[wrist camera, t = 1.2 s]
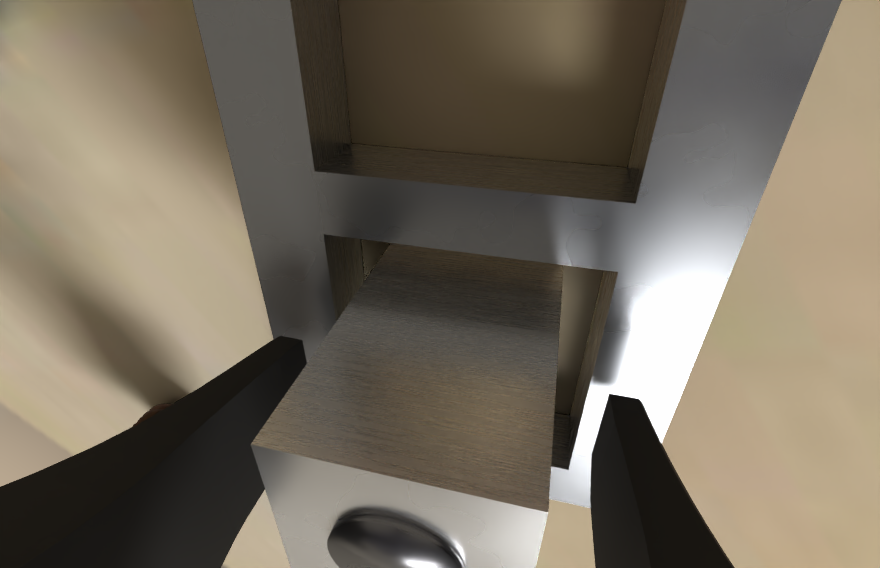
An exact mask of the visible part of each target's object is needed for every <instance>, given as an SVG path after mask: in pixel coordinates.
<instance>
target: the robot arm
mask: <svg viewBox="0 0 880 568" xmlns="http://www.w3.org/2000/svg"><path fill="white" fill-rule="evenodd" d="M306 364H307V361H306V356H305V351H304V346H303V340H301V339H295V338H289V337H284V336H279V337H277V338H276V339H274V340H272V341H271V342H269V343H267V344H266V345H264V346H263V347H261V348H260V349H258V350H257V351H255V352H254V353H252V354H251V355H249V356H248V357H246V358H245V359H243V360H242V361H240V362H239V363H237V364H236V365H234V366H233V367H231V368H230V369H228V370H226V371H225V372H223V373H222V374H220V375H219V376H217V377H216V378H214V379H213V380H211V381H209V382H208V383H206V384H205V385H203V386H202V387H200V388H199V389H197V390H195V391H194V392H192V393H190V394H189V395H187V396H185V397H184V398H182V399H180V400H179V401H177V402H175V403H174V404H172V405H170V406H169V407H167V408H165V409H164V410H162V411H160V412H159V413H157V414H155V415H153V416H152V417H150V418H148V419H146V420H144V421H143V422H141V423H139V424H137V425H135V426H133V427H132V428H130V429H128V430H126V431H124V432H122V433H120V434H118V435H116V436H114V437H112V438H110V439H108V440H106V441H104V442H102V443H100V444H98V445H96V446H94V447H92V448H90V449H88V450H85V451H83V452H81V453H79V454H76V455H74V456H72V457H70V458H67V459H65V460H63V461H61V462H58V463H56V464H54V465H52V466H50V467H47V468H45V469H43V470H41V471H38V472H36V473H34V474H31V475H29V476H26V477H24V478H21V479H19V480H16V481H14V482H11V483H9V484H6V485H4V486H1V487H0V568H221V566H222V564H223V562H224V560H225V558H226V556H227V554H228V552H229V550H230V548H231V546H232V544H233V542H234V540H235V538H236V536H237V534H238V533H239V531H240V529H241V527H242V526H243V524H244V522H245V520H246V519H247V517H248V515H249V514H250V512H251V511H252V509H253V507H254V506H255V504H256V502H257V501H258V499H259V498H260V496H261V494H262V493H263V491H264V490H265V487H264V484H263V481H262V478H261V475H260V471H259V468H258V465H257V462H256V459H255V456H254V453H253V450H252V447H251V443H252V442H253V440H254V439H255V437H256V436H257V435H258V433H259V432H260V430H261V429H262V427H263V426H264V424H265V423H266V422H267V420H268V419H269V417H270V416H271V414H272V413H273V412H274V410H275V409H276V407H277V406H278V404H279V403H280V402H281V400H282V399H283V397H284V396H285V394H286V393H287V392H288V390H289V389H290V387H291V386H292V384H293V383H294V382H295V380H296V379H297V377H298V376H299V374H300V373H301V371H302V370H303V369H304V367H305V366H306ZM590 504H591V517H592V530H593V542H594V554H595V566H596V568H734V566H733V565H732V563H731V562H730V560H729V559H728V557H727V556H726V554H725V553H724V551H723V550H722V548H721V547H720V545H719V543H718V542H717V540H716V539H715V537H714V535H713V534H712V532H711V531H710V529H709V527H708V526H707V524H706V523H705V521H704V519H703V518H702V516H701V514H700V513H699V511H698V509H697V508H696V506H695V504H694V503H693V501H692V499H691V497H690V495H689V494H688V492H687V490H686V488H685V487H684V485H683V483H682V481H681V479H680V478H679V476H678V474H677V472H676V470H675V469H674V467H673V465H672V463H671V461H670V459H669V457H668V455H667V453H666V451H665V449H664V447H663V445H662V443H661V441H660V439H659V437H658V435H657V433H656V431H655V429H654V427H653V425H652V423H651V420H650V418H649V416H648V414H647V412H646V409H645V407H644V405H643V403H642V402H641V400H640V399H638V398H632V397H626V396H621V395H615V394H609V396H608V399H607V403H606V406H605V410H604V413H603V416H602V420H601V423H600V427H599V430H598V434H597V437H596V441H595V444H594V448H593V451H592V457H591V488H590Z"/></svg>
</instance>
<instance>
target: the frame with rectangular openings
mask: <svg viewBox="0 0 880 568" xmlns="http://www.w3.org/2000/svg"><path fill="white" fill-rule="evenodd" d="M192 1H193V5H194V9H195V14H196V18H197V22H198V26H199V30H200V34H201V39H202V43H203V47H204V51H205V55H206V59H207V64H208V68H209V72H210V76H211V80H212V84H213V89H214V93H215V97H216V101H217V105H218V109H219V114H220V118H221V122H222V126H223V130H224V134H225V139H226V143H227V147H228V151H229V155H230V159H231V164H232V168H233V172H234V176H235V180H236V184H237V189H238V193H239V197H240V201H241V205H242V209H243V214H244V218H245V222H246V226H247V230H248V234H249V239H250V243H251V247H252V251H253V255H254V259H255V264H256V268H257V272H258V276H259V280H260V284H261V289H262V293H263V297H264V301H265V305H266V309H267V314H268V318H269V322H270V326H271V330H272V334H273V339H276V338H277V337H279V336H284V337H289V338H295V339H301V340H303V346H304V351H305V356H306V361H307V363H308V361H309V360H310V359H311V357H312V356H313V354H314V353H315V351H316V350H317V349H318V347H319V346H320V344H321V343H322V341H323V340H324V339H325V337H326V336H327V334H328V333H329V331H330V330H331V329H332V327H333V326H334V324H335V323H336V321H337V320H338V318H339V317H340V316H341V314H342V313H343V311H344V310H345V308H346V307H347V306H348V304H349V303H350V301H351V300H352V298H353V297H354V296H355V294H356V293H357V291H358V290H359V288H360V287H361V286H362V284H363V283H364V271H363V261H362V250H361V240H360V239H364V240H372V241H380V242H388V243H396V244H403V245H411V246H419V247H427V248H435V249H442V250H450V251H458V252H466V253H474V254H481V255H489V256H497V257H505V258H512V259H520V260H528V261H536V262H544V263H551V264H559V265H567V266H575V267H583V268H590V269H598V270H603V275H602V279H601V283H600V288H599V292H598V296H597V301H596V305H595V309H594V314H593V318H592V322H591V326H590V331H589V335H588V339H587V344H586V348H585V352H584V357H583V361H582V365H581V370H580V374H579V378H578V383H577V387H576V391H575V396H574V400H573V404H572V408H571V413H570V416H569V415H564V414H559V413H554V427H553V443H552V460H551V476H550V493H549V499H552V500H557V501H561V502H565V503H570V504H574V505H579V506H583V507H588V508H591V504H590V488H591V457H592V451H593V448H594V444H595V441H596V437H597V434H598V430H599V427H600V423H601V420H602V416H603V413H604V410H605V406H606V403H607V399H608V396H609V394H615V395H621V396H626V397H632V398H638V399H640V400H641V402H642V403H643V405H644V407H645V409H646V412H647V414H648V416H649V418H650V420H651V423H652V425H653V427H654V429H655V431H656V433H657V435H658V437H659V439H660V441H661V443H662V441H663V438H664V436H665V434H666V431H667V429H668V426H669V424H670V421H671V419H672V416H673V414H674V411H675V409H676V406H677V404H678V402H679V399H680V397H681V394H682V392H683V389H684V387H685V384H686V382H687V379H688V377H689V374H690V372H691V370H692V367H693V365H694V362H695V360H696V357H697V355H698V352H699V350H700V347H701V345H702V343H703V340H704V338H705V335H706V333H707V330H708V328H709V325H710V323H711V320H712V318H713V315H714V313H715V311H716V308H717V306H718V303H719V301H720V298H721V296H722V293H723V291H724V288H725V286H726V283H727V281H728V279H729V276H730V274H731V271H732V269H733V266H734V264H735V261H736V259H737V256H738V254H739V251H740V249H741V247H742V244H743V242H744V239H745V237H746V234H747V232H748V229H749V227H750V224H751V222H752V219H753V217H754V215H755V212H756V210H757V207H758V205H759V202H760V200H761V197H762V195H763V192H764V190H765V187H766V185H767V183H768V180H769V178H770V175H771V173H772V170H773V168H774V165H775V163H776V160H777V158H778V156H779V153H780V151H781V148H782V146H783V143H784V141H785V138H786V136H787V133H788V131H789V128H790V126H791V124H792V121H793V119H794V116H795V114H796V111H797V109H798V106H799V104H800V101H801V99H802V96H803V94H804V92H805V89H806V87H807V84H808V82H809V79H810V77H811V74H812V72H813V69H814V67H815V64H816V62H817V60H818V57H819V55H820V52H821V50H822V47H823V45H824V42H825V40H826V37H827V35H828V32H829V30H830V28H831V25H832V23H833V20H834V18H835V15H836V13H837V10H838V8H839V5H840V3H841V1H842V0H666V3H665V7H664V11H663V16H662V20H661V24H660V29H659V33H658V37H657V42H656V46H655V50H654V55H653V59H652V63H651V67H650V72H649V76H648V80H647V85H646V89H645V93H644V98H643V102H642V106H641V111H640V115H639V119H638V124H637V128H636V132H635V137H634V141H633V145H632V149H631V154H630V158H629V162H628V167H627V168H626V167H615V166H603V165H592V164H580V163H569V162H557V161H546V160H534V159H522V158H511V157H499V156H488V155H476V154H465V153H453V152H442V151H430V150H419V149H407V148H396V147H384V146H373V145H361V144H351V135H350V125H349V114H348V104H347V93H346V83H345V72H344V62H343V51H342V41H341V30H340V20H339V9H338V0H192Z"/></svg>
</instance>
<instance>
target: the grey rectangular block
mask: <svg viewBox="0 0 880 568" xmlns="http://www.w3.org/2000/svg"><path fill="white" fill-rule="evenodd" d="M562 279H563V265H559V264H551V263H544V262H536V261H528V260H520V259H512V258H505V257H497V256H489V255H481V254H474V253H466V252H458V251H450V250H442V249H435V248H427V247H419V246H411V245H403V244H396V243H391V244H390V245H389V247H388V248H387V250H386V251H385V253H384V254H383V255H382V257H381V258H380V260H379V261H378V263H377V264H376V266H375V267H374V268H373V270H372V271H371V273H370V274H369V276H368V277H367V278H366V280H365V281H364V283H363V284H362V286H361V287H360V288H359V290H358V291H357V293H356V294H355V296H354V297H353V298H352V300H351V301H350V303H349V304H348V306H347V307H346V308H345V310H344V311H343V313H342V314H341V316H340V317H339V318H338V320H337V321H336V323H335V324H334V326H333V327H332V329H331V330H330V331H329V333H328V334H327V336H326V337H325V339H324V340H323V341H322V343H321V344H320V346H319V347H318V349H317V350H316V351H315V353H314V354H313V356H312V357H311V359H310V360H309V361H308V363H307V364H306V366H305V367H304V369H303V370H302V371H301V373H300V374H299V376H298V377H297V379H296V380H295V382H294V383H293V384H292V386H291V387H290V389H289V390H288V392H287V393H286V394H285V396H284V397H283V399H282V400H281V402H280V403H279V404H278V406H277V407H276V409H275V410H274V412H273V413H272V414H271V416H270V417H269V419H268V420H267V422H266V423H265V424H264V426H263V427H262V429H261V430H260V432H259V433H258V435H257V436H256V437H255V439H254V440H253V442H252V443H251V447H252V450H253V453H254V456H255V459H256V462H257V465H258V468H259V471H260V475H261V478H262V481H263V484H264V487H265V490H266V493H267V496H268V499H269V502H270V505H271V508H272V511H273V514H274V517H275V521H276V524H277V527H278V530H279V533H280V536H281V539H282V542H283V545H284V548H285V551H286V554H287V557H288V560H289V564H290V567H291V568H535V567H536V563H537V559H538V555H539V550H540V546H541V542H542V537H543V533H544V529H545V525H546V520H547V516H548V509H549V493H550V476H551V460H552V443H553V427H554V411H555V394H556V378H557V361H558V345H559V329H560V312H561V296H562Z"/></svg>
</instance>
